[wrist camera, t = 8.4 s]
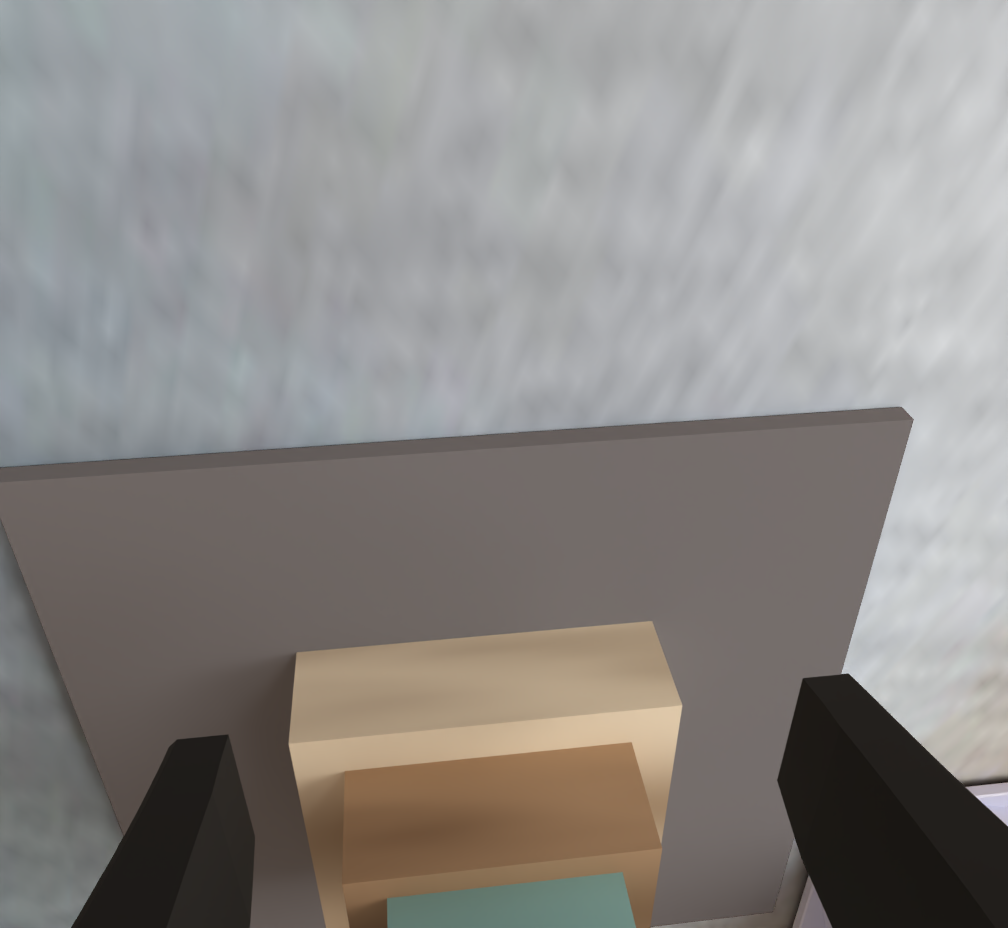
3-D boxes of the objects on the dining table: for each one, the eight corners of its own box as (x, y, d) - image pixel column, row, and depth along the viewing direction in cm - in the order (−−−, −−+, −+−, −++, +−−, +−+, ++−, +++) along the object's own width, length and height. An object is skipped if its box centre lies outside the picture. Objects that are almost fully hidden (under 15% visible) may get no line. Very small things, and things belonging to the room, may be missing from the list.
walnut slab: (613, 901, 23) (637, 1006, 21) (370, 930, 22) (369, 1041, 20) (631, 741, 20) (662, 848, 18) (344, 771, 19) (341, 884, 17)
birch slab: (627, 832, 26) (649, 919, 24) (335, 864, 25) (332, 957, 23) (652, 620, 21) (682, 705, 19) (296, 652, 20) (288, 743, 18)
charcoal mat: (767, 897, 29) (773, 912, 29) (183, 966, 28) (181, 983, 27) (901, 407, 19) (913, 419, 19) (-5, 468, 18) (-13, 483, 17)
